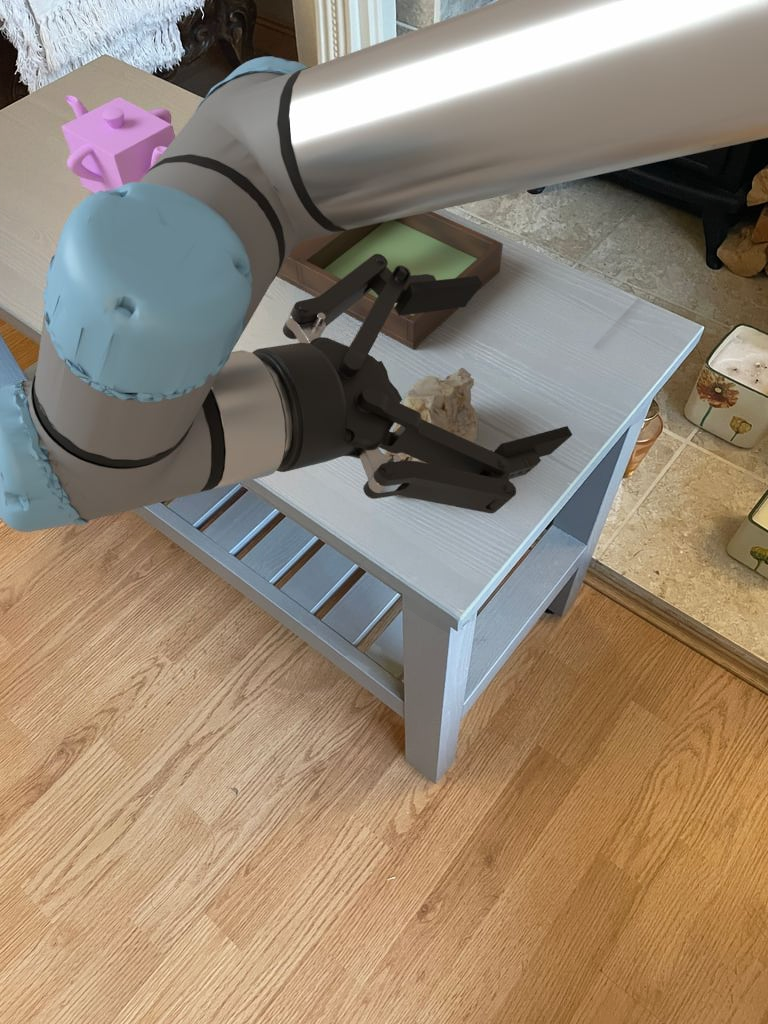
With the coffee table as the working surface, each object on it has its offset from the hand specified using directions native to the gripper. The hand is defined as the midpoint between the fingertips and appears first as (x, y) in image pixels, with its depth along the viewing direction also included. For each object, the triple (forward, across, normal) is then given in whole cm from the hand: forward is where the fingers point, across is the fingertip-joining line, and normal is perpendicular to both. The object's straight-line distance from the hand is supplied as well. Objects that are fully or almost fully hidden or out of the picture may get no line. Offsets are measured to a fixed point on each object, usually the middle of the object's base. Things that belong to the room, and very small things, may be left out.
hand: (514, 363), depth 60 cm
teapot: (-2, -56, -39) cm, 68 cm away
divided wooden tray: (+14, -33, -26) cm, 44 cm away
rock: (+5, -2, -19) cm, 20 cm away
